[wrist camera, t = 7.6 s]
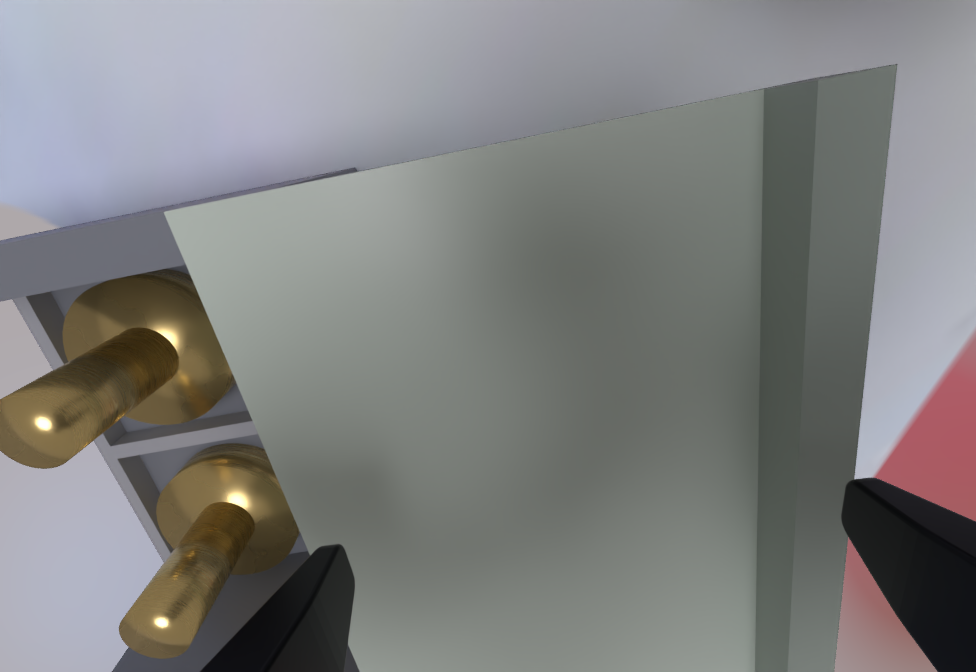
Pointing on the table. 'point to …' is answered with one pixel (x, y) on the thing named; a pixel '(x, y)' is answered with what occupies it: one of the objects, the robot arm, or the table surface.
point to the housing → (130, 443)
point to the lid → (573, 381)
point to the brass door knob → (119, 369)
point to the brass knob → (209, 543)
